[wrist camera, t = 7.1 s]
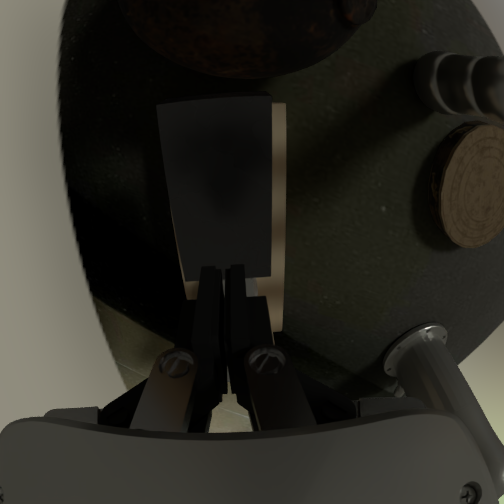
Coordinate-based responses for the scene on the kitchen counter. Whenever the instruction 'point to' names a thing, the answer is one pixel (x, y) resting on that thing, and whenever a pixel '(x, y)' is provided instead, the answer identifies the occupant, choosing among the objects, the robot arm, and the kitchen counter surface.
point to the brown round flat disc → (469, 184)
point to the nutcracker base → (275, 283)
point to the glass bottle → (246, 32)
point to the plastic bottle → (461, 84)
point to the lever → (220, 181)
